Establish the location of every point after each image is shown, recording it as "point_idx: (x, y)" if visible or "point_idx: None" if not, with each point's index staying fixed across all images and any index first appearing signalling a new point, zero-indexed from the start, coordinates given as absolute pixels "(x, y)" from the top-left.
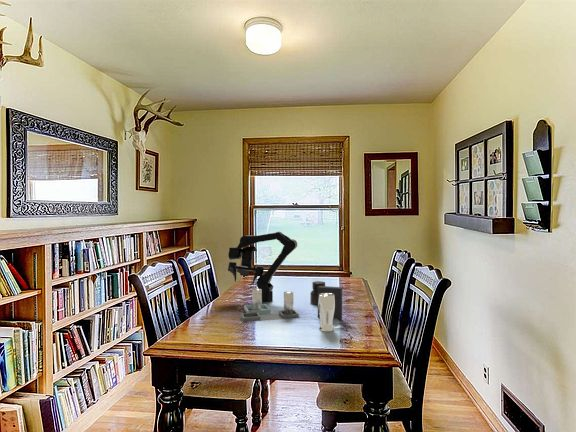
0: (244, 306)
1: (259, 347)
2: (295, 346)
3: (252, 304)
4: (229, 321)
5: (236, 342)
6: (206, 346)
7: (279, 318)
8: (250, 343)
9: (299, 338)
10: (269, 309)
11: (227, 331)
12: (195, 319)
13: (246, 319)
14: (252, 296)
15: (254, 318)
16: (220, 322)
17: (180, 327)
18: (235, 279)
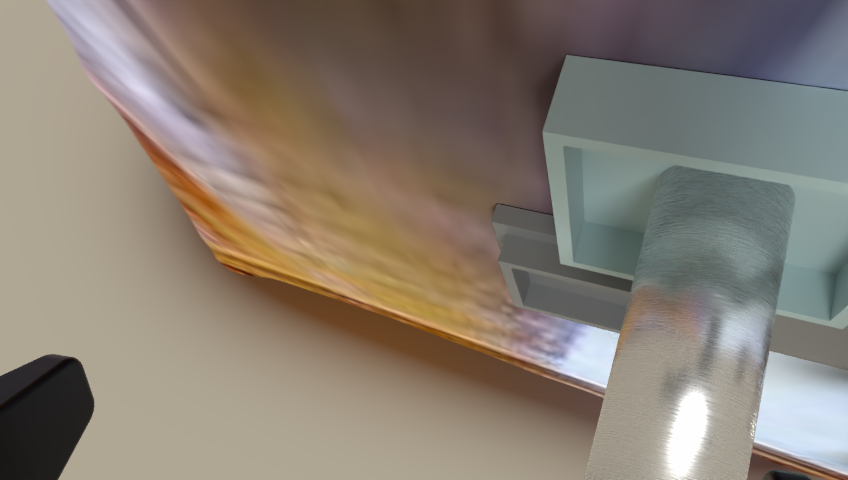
0: (546, 151)
1: (567, 378)
2: None
3: (636, 267)
4: (422, 216)
5: (487, 340)
6: (387, 316)
7: (827, 357)
8: (540, 360)
9: (760, 420)
10: (829, 324)
11: (437, 287)
12: (144, 106)
13: (540, 297)
14: (609, 378)
15: (600, 316)
16: (362, 206)
17: (166, 178)
18: (46, 459)
